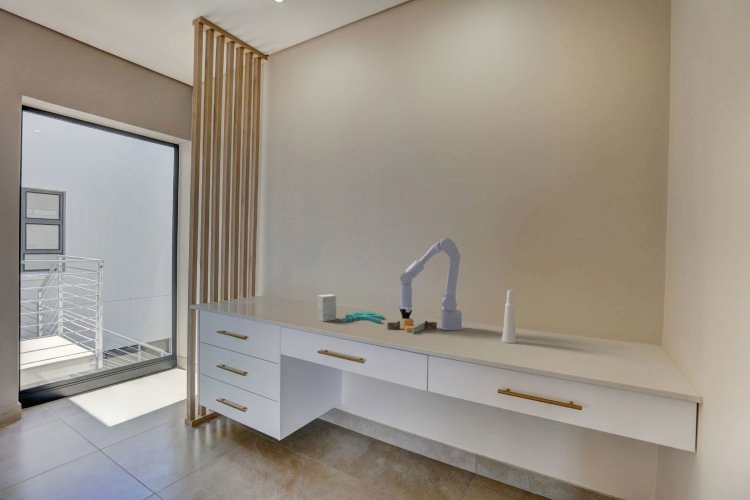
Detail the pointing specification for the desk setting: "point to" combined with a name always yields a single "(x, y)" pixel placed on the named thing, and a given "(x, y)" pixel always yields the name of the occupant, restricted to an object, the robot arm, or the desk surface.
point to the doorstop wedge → (408, 324)
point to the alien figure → (363, 317)
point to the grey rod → (418, 327)
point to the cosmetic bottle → (509, 320)
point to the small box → (326, 307)
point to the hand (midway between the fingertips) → (405, 323)
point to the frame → (397, 325)
